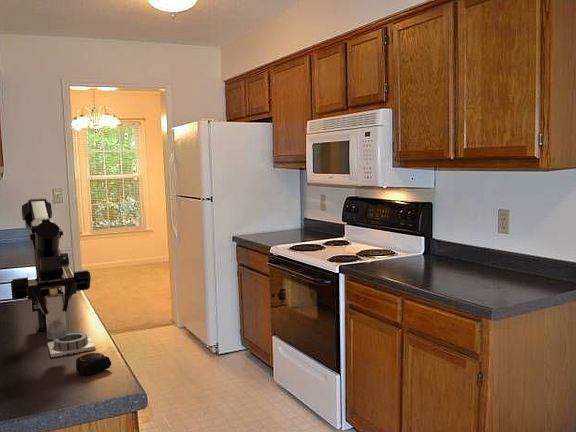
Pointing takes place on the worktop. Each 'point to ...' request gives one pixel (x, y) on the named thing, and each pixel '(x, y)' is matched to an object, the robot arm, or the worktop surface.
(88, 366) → the tape measure
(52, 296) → the gold-capped glass bottle
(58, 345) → the socket flange
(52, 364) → the worktop surface
